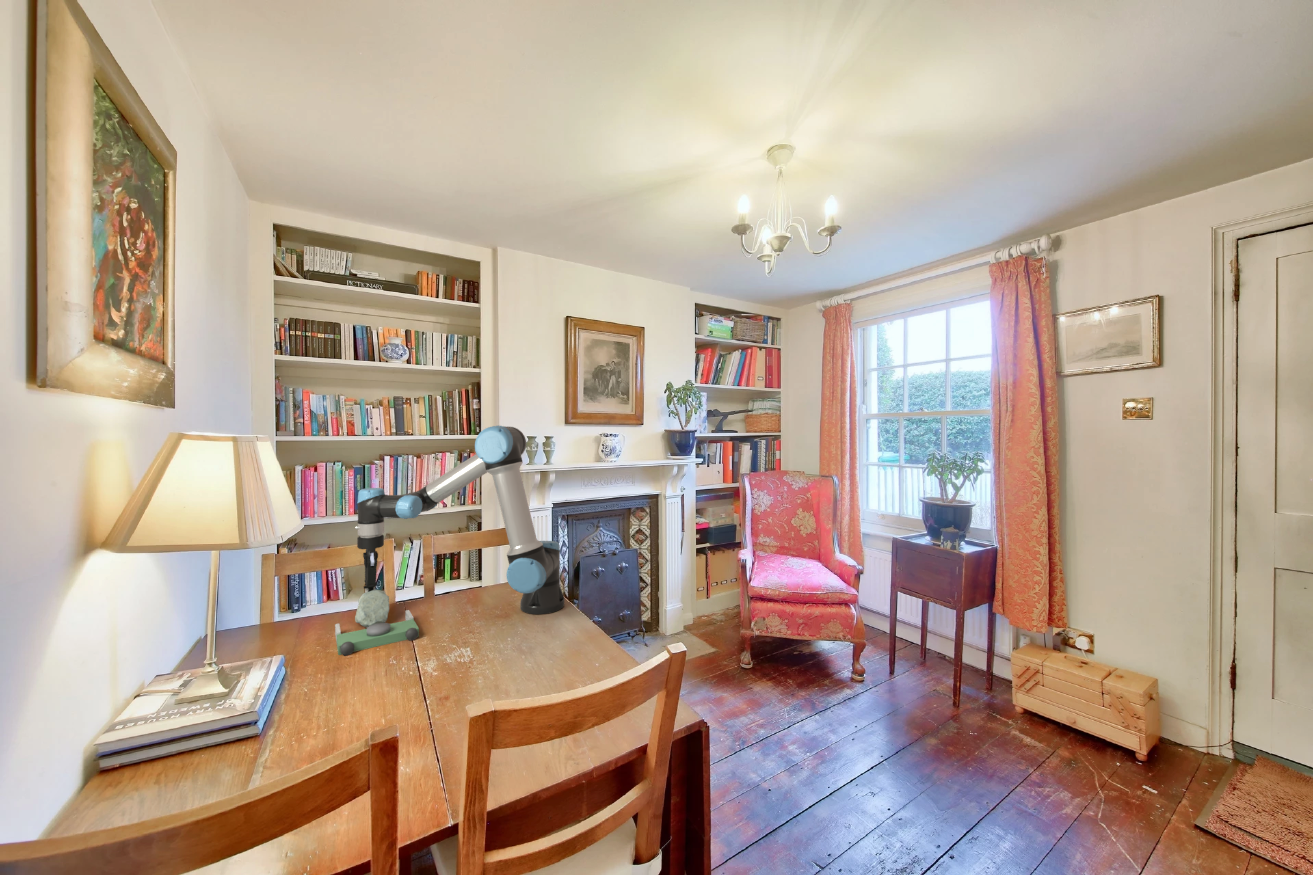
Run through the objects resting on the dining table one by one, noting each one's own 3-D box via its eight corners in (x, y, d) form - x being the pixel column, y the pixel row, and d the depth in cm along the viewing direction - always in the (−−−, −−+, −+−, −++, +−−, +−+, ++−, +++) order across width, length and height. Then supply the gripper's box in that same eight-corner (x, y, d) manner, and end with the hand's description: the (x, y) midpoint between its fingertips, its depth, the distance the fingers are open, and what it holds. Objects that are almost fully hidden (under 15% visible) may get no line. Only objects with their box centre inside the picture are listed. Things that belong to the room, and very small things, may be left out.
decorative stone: (360, 614, 157) (346, 597, 151) (395, 599, 161) (383, 582, 155) (363, 647, 148) (348, 630, 142) (400, 629, 152) (387, 612, 146)
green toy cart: (408, 618, 155) (408, 606, 155) (419, 638, 140) (419, 624, 140) (335, 633, 143) (335, 620, 143) (338, 657, 128) (338, 642, 128)
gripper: (355, 532, 159) (355, 602, 159) (358, 540, 149) (358, 614, 149) (381, 530, 163) (380, 598, 164) (386, 537, 153) (385, 609, 153)
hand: (370, 606), depth 156 cm, fingers closed
